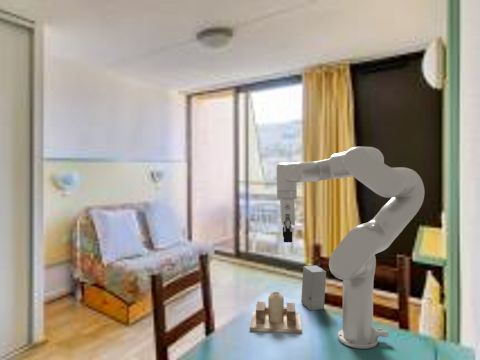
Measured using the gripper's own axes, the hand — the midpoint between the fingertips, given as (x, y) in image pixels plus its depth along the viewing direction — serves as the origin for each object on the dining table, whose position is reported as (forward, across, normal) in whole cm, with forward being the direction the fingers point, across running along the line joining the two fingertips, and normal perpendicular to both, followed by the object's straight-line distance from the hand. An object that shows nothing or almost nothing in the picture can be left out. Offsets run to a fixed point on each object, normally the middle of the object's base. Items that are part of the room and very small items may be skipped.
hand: (287, 239), depth 138 cm
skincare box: (+29, +8, -11) cm, 32 cm away
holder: (+29, -8, +5) cm, 31 cm away
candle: (+28, -8, +5) cm, 30 cm away
